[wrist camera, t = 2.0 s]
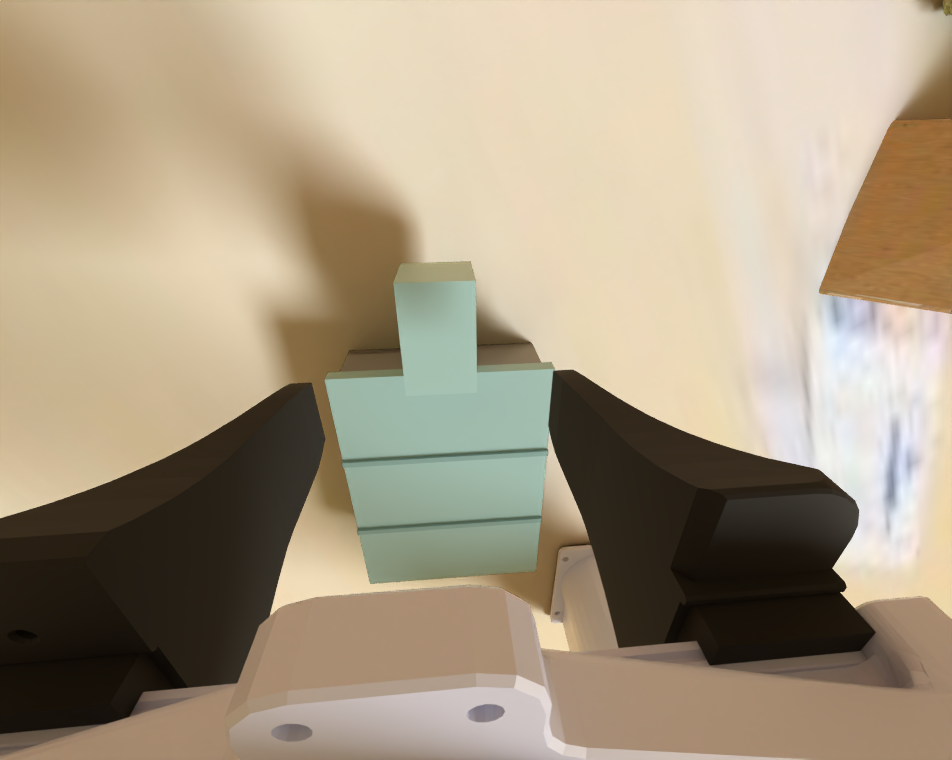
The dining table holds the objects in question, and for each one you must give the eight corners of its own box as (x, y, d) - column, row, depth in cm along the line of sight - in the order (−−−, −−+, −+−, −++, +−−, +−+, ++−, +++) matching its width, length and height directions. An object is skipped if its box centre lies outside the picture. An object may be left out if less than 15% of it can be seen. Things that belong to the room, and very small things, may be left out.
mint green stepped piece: (532, 555, 27) (541, 597, 25) (372, 566, 27) (365, 611, 24) (557, 259, 18) (577, 277, 15) (309, 266, 17) (285, 286, 14)
